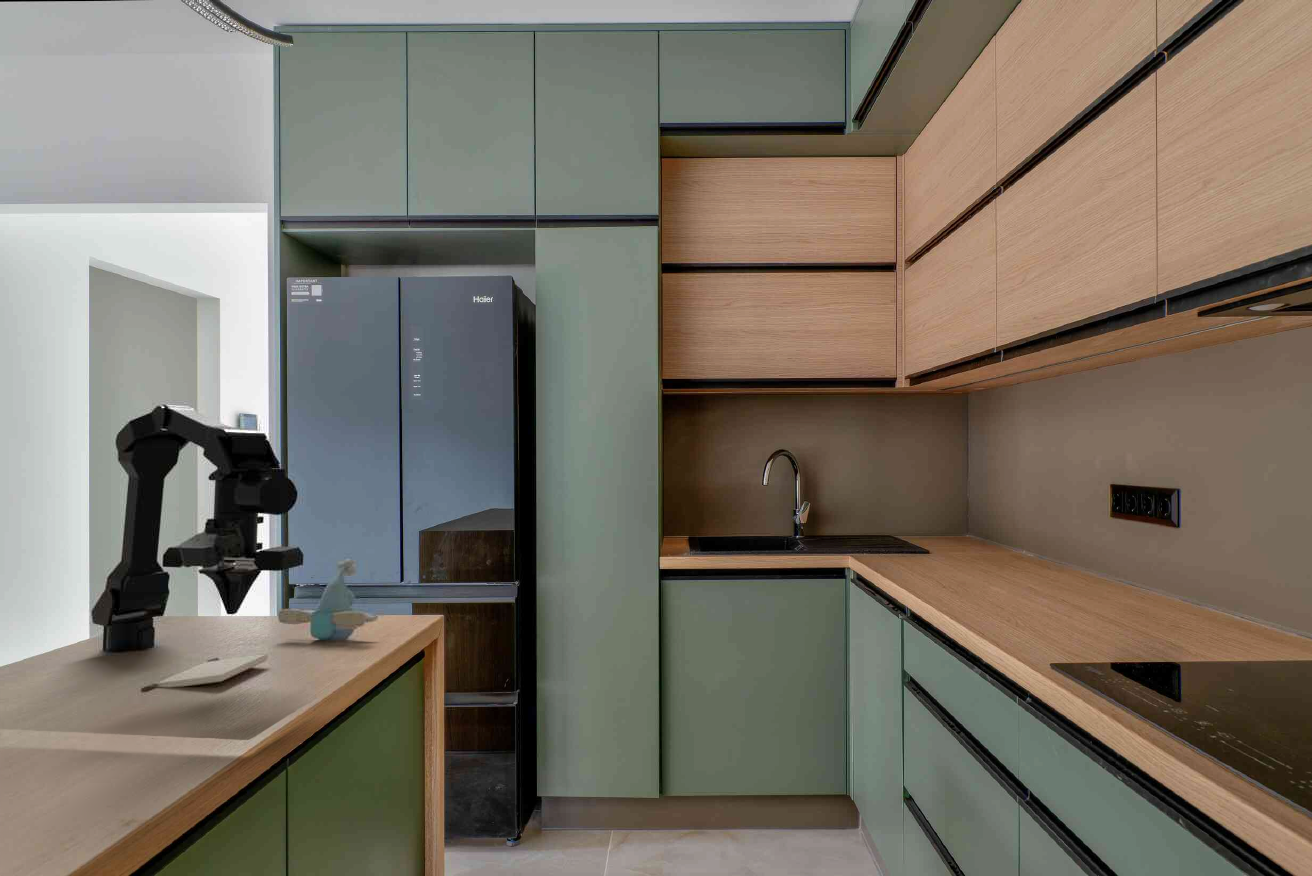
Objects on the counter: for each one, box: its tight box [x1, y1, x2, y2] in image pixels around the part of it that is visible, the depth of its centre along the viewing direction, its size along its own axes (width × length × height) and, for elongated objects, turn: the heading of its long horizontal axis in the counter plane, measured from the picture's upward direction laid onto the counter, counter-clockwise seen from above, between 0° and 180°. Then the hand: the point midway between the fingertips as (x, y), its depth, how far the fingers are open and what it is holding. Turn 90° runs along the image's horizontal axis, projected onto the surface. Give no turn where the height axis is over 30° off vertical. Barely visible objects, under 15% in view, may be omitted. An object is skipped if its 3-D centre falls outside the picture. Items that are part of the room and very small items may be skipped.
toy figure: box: [278, 558, 379, 642], centre depth 121 cm, size 17×10×15 cm, turn 84°
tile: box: [155, 653, 269, 688], centre depth 97 cm, size 10×10×1 cm
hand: (232, 613), depth 98 cm, fingers closed
